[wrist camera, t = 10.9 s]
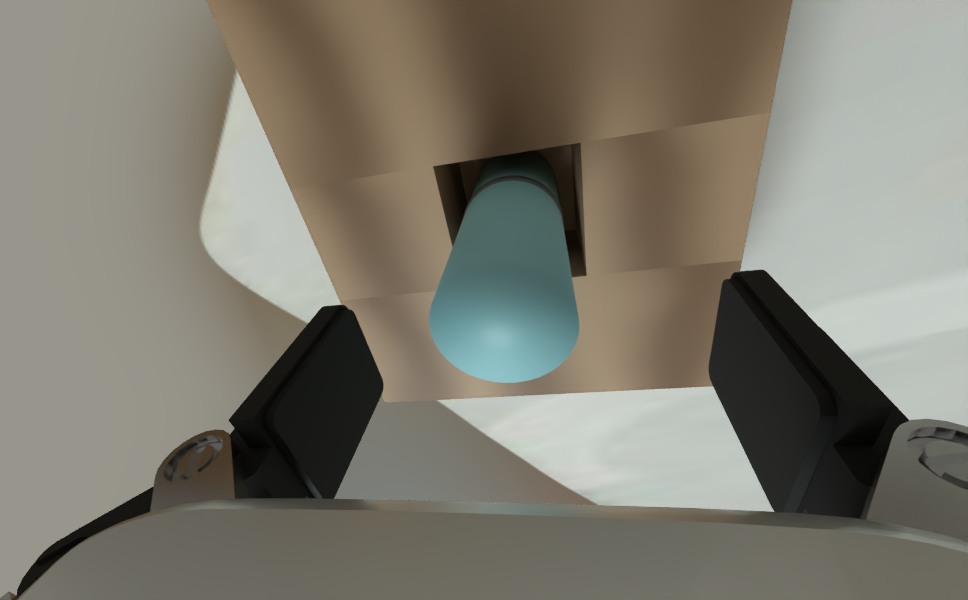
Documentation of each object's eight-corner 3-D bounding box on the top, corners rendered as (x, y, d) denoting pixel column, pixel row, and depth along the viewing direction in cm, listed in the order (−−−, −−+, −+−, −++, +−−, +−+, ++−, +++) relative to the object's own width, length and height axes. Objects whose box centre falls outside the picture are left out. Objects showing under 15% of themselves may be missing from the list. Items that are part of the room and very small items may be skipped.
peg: (553, 139, 19) (577, 251, 9) (559, 219, 21) (584, 380, 11) (470, 152, 20) (408, 270, 10) (484, 228, 22) (446, 387, 12)
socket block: (729, -128, 14) (833, -215, 9) (680, 316, 25) (717, 385, 20) (287, -13, 18) (192, -32, 13) (410, 337, 28) (385, 402, 23)
